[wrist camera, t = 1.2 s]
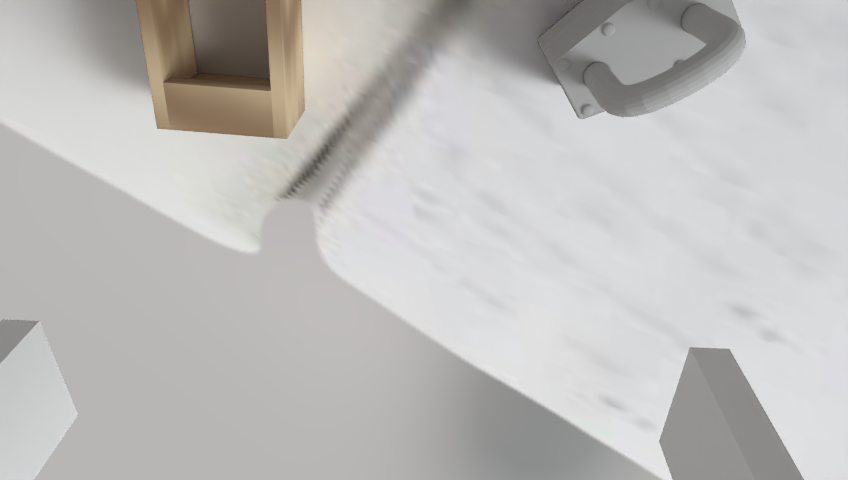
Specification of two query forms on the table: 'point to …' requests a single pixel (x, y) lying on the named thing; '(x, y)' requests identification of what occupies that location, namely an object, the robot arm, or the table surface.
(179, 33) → the keyhole rail
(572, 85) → the padlock
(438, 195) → the table surface
